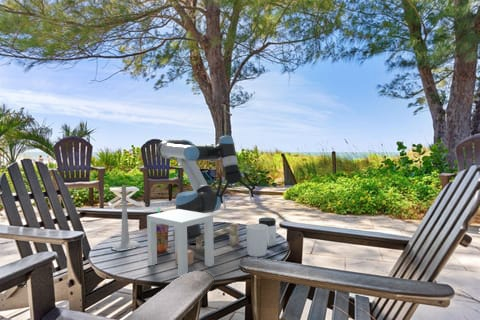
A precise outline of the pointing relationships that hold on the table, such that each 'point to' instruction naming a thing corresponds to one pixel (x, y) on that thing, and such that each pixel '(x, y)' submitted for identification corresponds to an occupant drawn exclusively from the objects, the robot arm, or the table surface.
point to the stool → (180, 235)
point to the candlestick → (124, 226)
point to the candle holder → (256, 239)
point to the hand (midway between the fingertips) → (238, 207)
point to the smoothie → (161, 236)
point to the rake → (233, 234)
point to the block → (190, 257)
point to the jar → (270, 229)
